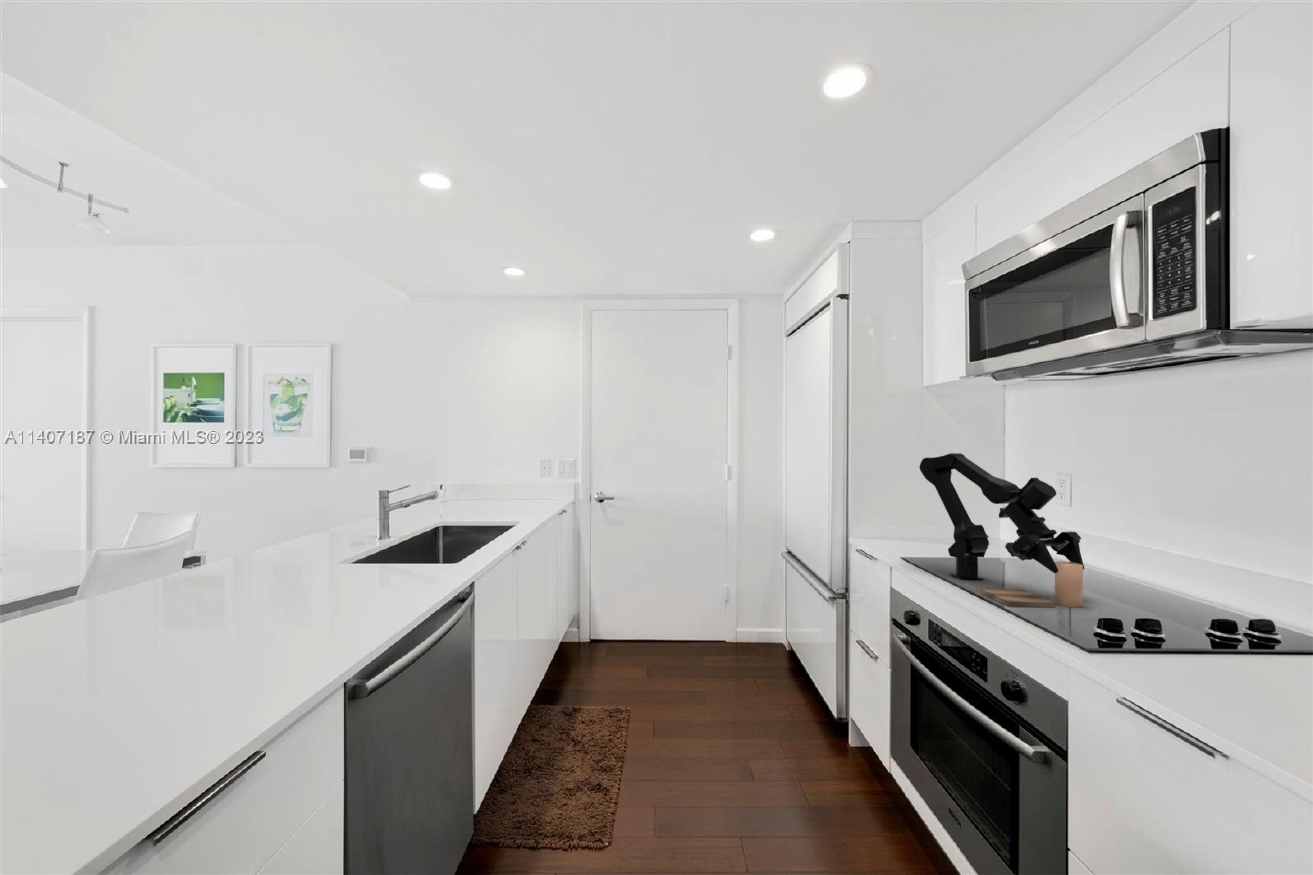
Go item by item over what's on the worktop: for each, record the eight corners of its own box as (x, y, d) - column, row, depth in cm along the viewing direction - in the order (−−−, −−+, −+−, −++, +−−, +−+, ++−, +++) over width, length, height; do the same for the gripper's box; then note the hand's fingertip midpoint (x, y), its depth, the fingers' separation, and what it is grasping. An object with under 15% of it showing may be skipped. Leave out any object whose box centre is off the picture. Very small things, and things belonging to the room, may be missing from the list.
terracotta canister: (1049, 600, 141) (1049, 561, 141) (1071, 601, 141) (1071, 561, 141) (1065, 607, 135) (1065, 566, 135) (1088, 607, 135) (1088, 566, 135)
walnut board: (981, 593, 147) (981, 589, 147) (1022, 594, 147) (1022, 589, 147) (1009, 606, 135) (1009, 601, 135) (1054, 607, 135) (1054, 602, 135)
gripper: (1031, 537, 157) (1072, 586, 146) (981, 540, 151) (1020, 591, 140) (1059, 512, 150) (1104, 561, 139) (1008, 515, 143) (1052, 566, 133)
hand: (1069, 571), depth 138 cm, fingers open, 9 cm apart
